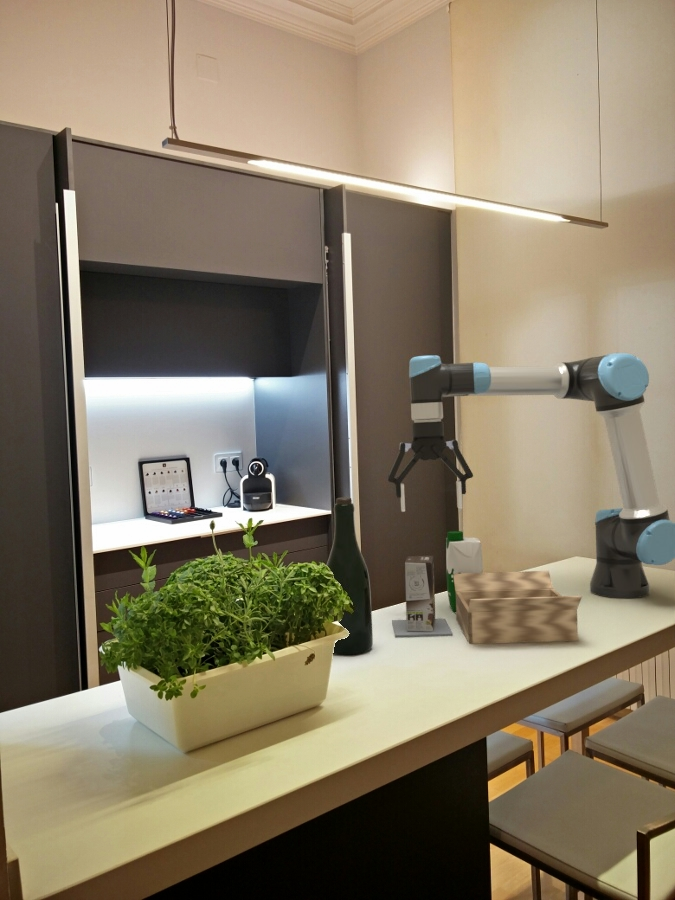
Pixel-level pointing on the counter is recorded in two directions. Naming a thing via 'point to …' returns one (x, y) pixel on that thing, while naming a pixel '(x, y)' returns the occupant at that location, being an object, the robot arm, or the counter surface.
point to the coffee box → (420, 593)
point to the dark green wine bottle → (351, 581)
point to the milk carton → (461, 560)
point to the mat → (439, 630)
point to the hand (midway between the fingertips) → (431, 509)
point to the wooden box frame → (514, 608)
